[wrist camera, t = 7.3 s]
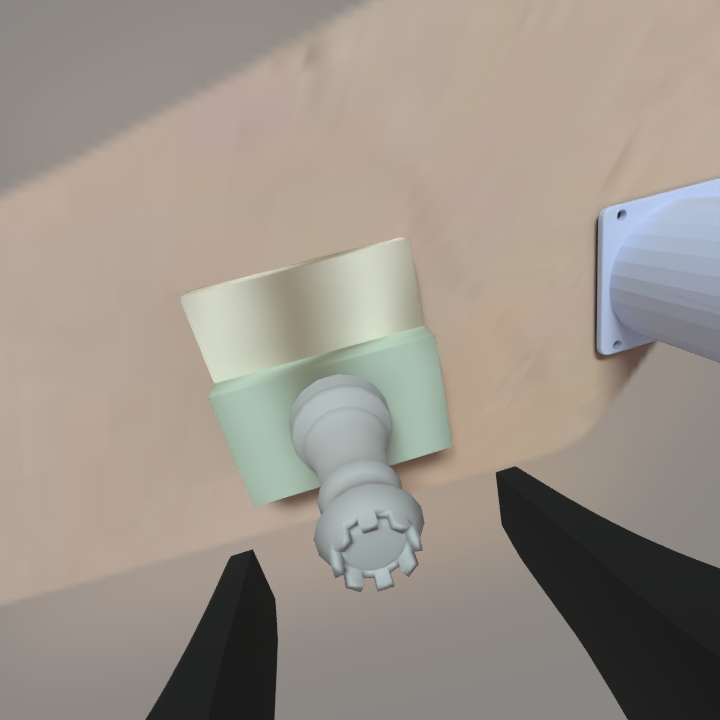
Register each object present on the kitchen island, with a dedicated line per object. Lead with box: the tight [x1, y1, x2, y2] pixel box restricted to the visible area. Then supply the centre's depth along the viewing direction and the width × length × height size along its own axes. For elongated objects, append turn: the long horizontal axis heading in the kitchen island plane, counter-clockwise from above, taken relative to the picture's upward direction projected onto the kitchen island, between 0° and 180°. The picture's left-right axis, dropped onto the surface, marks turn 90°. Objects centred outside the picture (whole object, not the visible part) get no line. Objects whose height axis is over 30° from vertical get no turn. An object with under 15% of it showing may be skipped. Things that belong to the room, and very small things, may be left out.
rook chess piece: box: [289, 374, 424, 592], centre depth 15 cm, size 4×4×8 cm
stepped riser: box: [180, 237, 453, 507], centre depth 19 cm, size 10×10×3 cm
